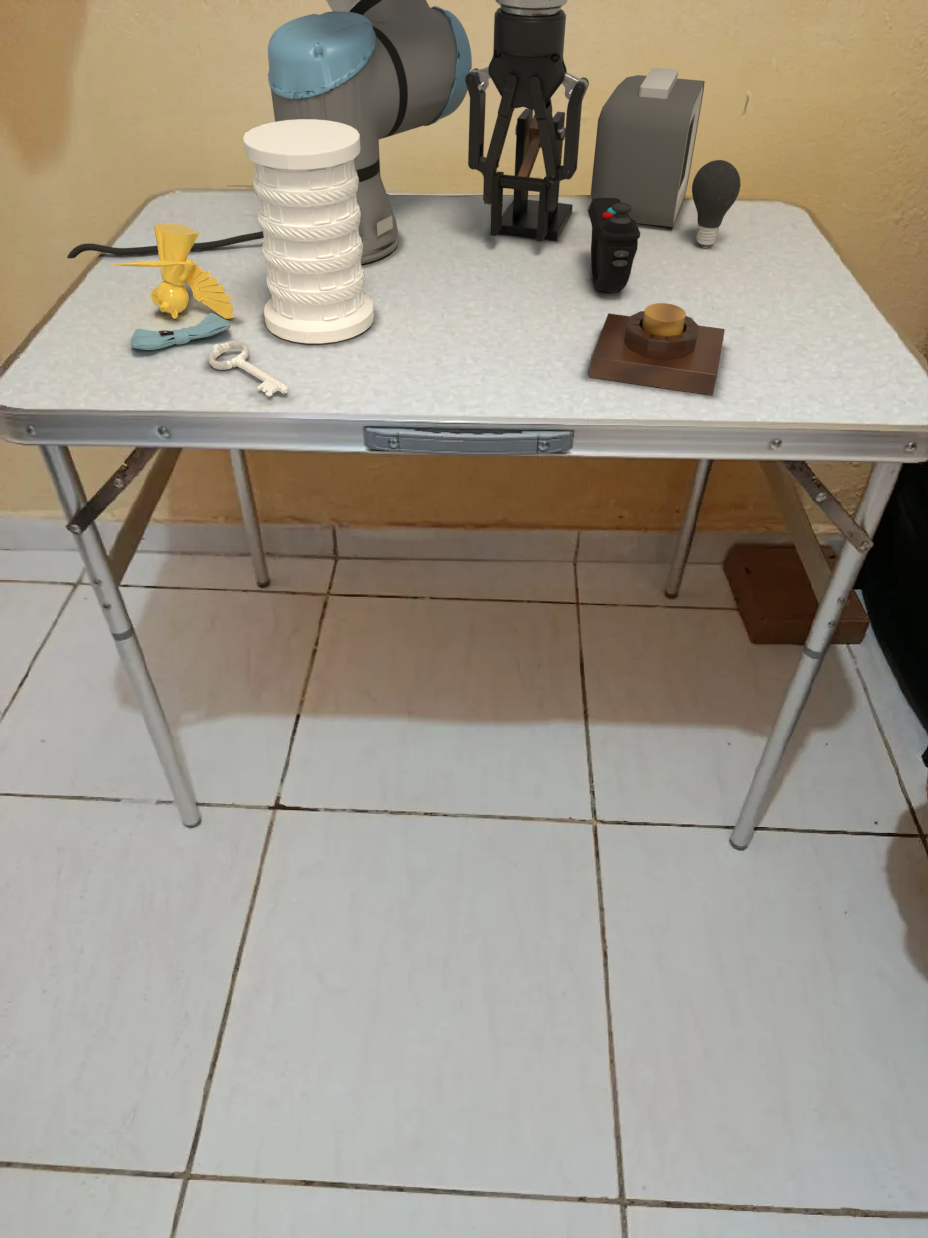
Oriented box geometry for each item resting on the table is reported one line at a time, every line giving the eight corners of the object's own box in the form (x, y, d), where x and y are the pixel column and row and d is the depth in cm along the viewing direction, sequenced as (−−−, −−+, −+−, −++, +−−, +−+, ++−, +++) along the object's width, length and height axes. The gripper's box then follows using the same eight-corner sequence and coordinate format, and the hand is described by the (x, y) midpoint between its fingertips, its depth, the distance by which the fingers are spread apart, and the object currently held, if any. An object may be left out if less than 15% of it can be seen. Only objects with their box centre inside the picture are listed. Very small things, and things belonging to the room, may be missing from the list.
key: (197, 353, 91) (231, 332, 93) (200, 361, 92) (234, 340, 93) (267, 397, 85) (303, 375, 86) (270, 405, 86) (305, 383, 87)
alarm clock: (670, 234, 117) (693, 98, 107) (583, 223, 120) (597, 89, 109) (686, 192, 129) (708, 65, 118) (606, 183, 131) (620, 57, 120)
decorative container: (383, 298, 102) (374, 120, 90) (362, 347, 94) (349, 158, 81) (281, 292, 103) (258, 115, 91) (251, 339, 95) (222, 151, 82)
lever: (540, 198, 108) (540, 179, 106) (499, 193, 109) (498, 175, 106) (562, 135, 113) (563, 116, 111) (523, 131, 114) (522, 112, 112)
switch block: (589, 377, 90) (593, 339, 87) (605, 332, 97) (610, 296, 94) (712, 395, 88) (721, 357, 85) (720, 348, 95) (728, 311, 92)
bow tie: (130, 345, 95) (136, 360, 91) (125, 330, 94) (131, 344, 90) (226, 324, 98) (236, 338, 94) (222, 309, 97) (232, 322, 93)
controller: (595, 308, 101) (606, 215, 95) (579, 263, 110) (588, 175, 104) (634, 307, 102) (647, 214, 95) (614, 262, 111) (625, 175, 104)
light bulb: (725, 238, 116) (742, 154, 110) (729, 256, 112) (748, 169, 106) (680, 236, 117) (694, 152, 110) (683, 254, 113) (698, 167, 106)
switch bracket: (556, 241, 115) (565, 129, 106) (495, 233, 117) (499, 123, 108) (572, 213, 122) (581, 106, 113) (513, 206, 124) (518, 101, 115)
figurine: (130, 244, 86) (131, 338, 90) (238, 244, 94) (233, 329, 98) (66, 212, 92) (69, 301, 96) (172, 214, 100) (171, 296, 104)
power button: (639, 335, 89) (641, 317, 88) (644, 317, 92) (647, 300, 91) (680, 340, 88) (683, 323, 87) (684, 322, 91) (688, 305, 90)
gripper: (437, 8, 95) (438, 236, 111) (610, 20, 91) (586, 254, 107) (457, -5, 100) (456, 215, 116) (622, 6, 97) (597, 231, 112)
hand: (518, 233), depth 112 cm, fingers closed on lever, 5 cm apart
